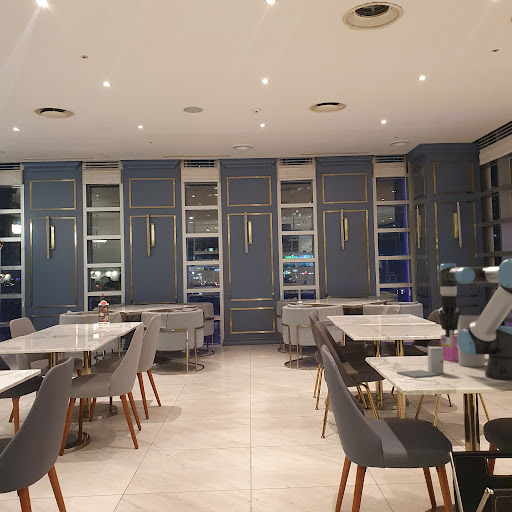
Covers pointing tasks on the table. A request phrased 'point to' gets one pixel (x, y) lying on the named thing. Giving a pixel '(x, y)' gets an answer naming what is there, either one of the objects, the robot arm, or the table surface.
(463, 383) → the table surface
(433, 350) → the skincare box
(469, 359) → the cylinder vase
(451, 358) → the gum box
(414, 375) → the mat
